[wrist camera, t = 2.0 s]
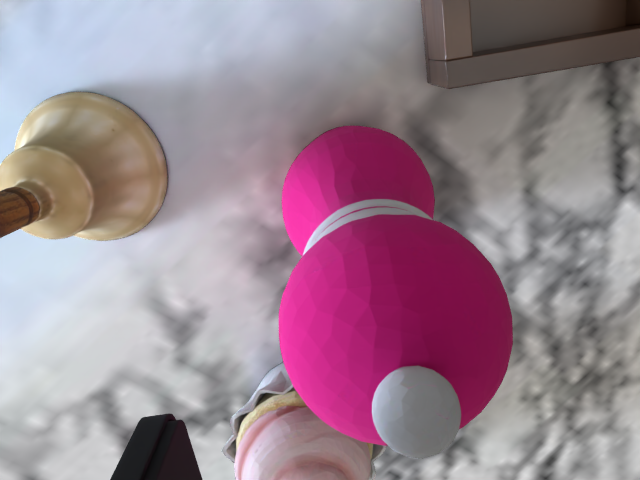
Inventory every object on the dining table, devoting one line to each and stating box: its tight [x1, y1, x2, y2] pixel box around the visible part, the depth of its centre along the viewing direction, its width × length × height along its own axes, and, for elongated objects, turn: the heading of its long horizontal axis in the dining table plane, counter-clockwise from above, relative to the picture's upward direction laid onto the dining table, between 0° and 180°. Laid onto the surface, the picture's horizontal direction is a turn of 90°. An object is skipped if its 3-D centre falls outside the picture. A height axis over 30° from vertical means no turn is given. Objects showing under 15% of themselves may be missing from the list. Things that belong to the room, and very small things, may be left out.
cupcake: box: [222, 362, 386, 480], centre depth 28 cm, size 9×9×10 cm
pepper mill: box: [279, 126, 513, 459], centre depth 19 cm, size 7×7×20 cm
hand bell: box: [0, 92, 168, 241], centre depth 20 cm, size 8×8×16 cm
